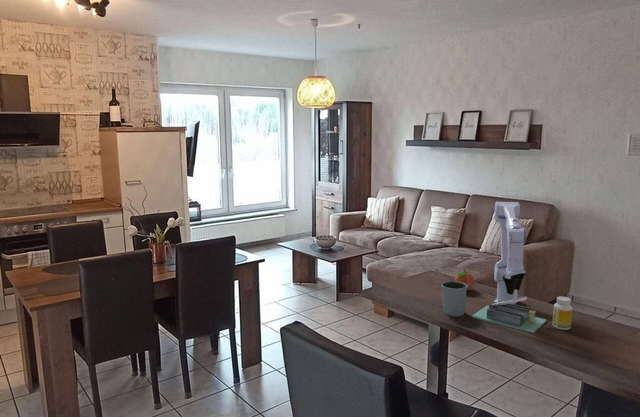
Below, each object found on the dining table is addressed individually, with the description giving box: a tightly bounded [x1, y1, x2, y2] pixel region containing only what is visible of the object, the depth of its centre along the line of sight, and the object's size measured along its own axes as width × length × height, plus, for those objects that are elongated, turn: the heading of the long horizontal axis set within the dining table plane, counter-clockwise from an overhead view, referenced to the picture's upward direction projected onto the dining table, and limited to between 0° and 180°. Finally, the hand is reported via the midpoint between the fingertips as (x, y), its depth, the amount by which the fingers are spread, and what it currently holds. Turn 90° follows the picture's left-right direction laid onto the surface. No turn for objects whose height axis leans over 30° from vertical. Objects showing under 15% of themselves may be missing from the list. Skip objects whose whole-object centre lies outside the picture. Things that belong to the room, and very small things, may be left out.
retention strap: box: [491, 296, 528, 307], centre depth 191 cm, size 14×2×1 cm, turn 48°
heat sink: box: [487, 301, 537, 327], centre depth 191 cm, size 12×17×5 cm
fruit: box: [454, 269, 475, 291], centre depth 226 cm, size 9×10×10 cm
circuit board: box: [471, 305, 547, 334], centre depth 192 cm, size 15×24×1 cm, turn 48°
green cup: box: [440, 280, 467, 317], centre depth 199 cm, size 10×10×12 cm
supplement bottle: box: [551, 295, 573, 331], centre depth 183 cm, size 6×6×11 cm
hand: (513, 291), depth 193 cm, fingers open, 6 cm apart
